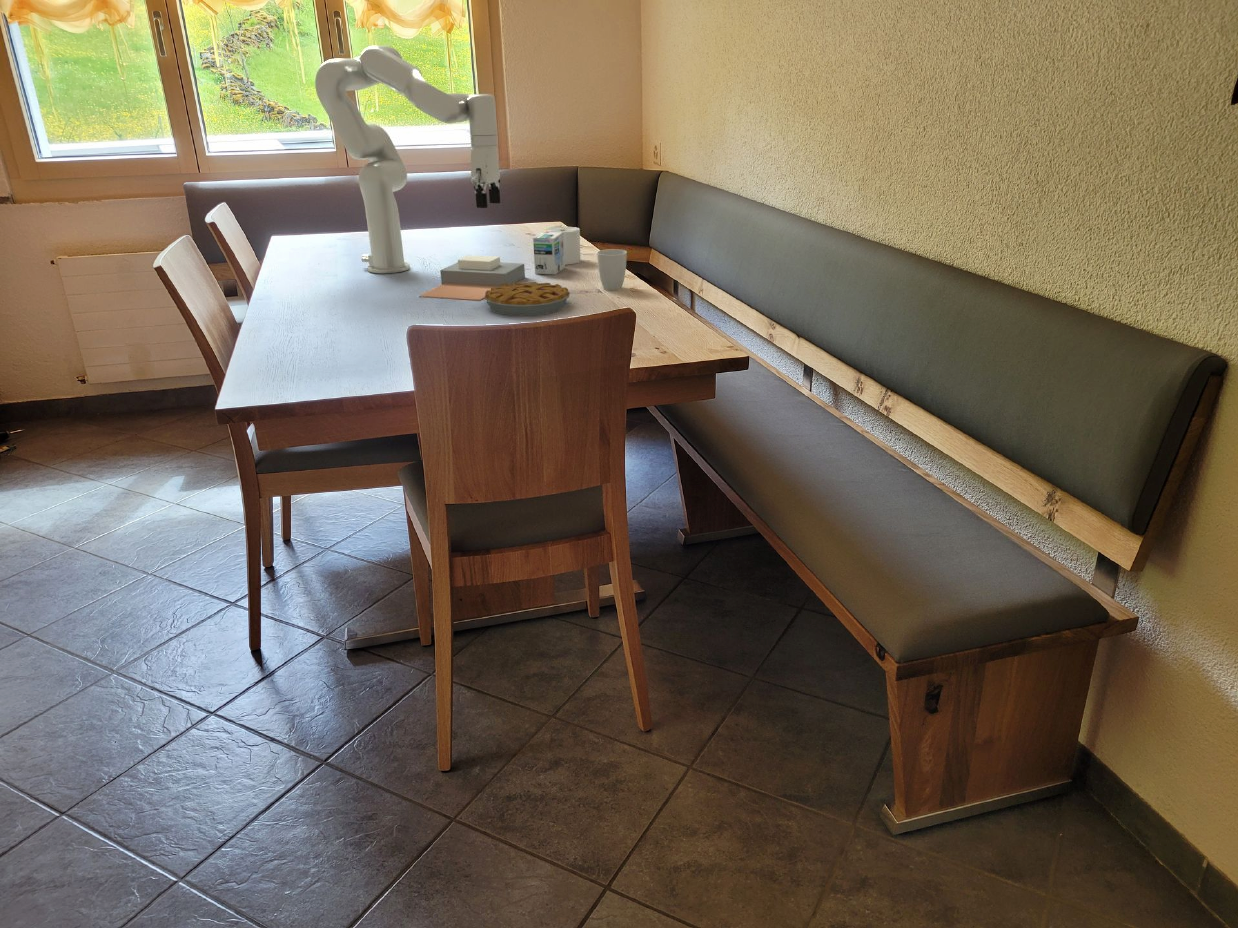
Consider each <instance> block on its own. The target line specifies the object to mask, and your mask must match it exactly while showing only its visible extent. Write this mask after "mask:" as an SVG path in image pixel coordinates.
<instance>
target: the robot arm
mask: <svg viewBox="0 0 1238 928" xmlns="http://www.w3.org/2000/svg"><path fill="white" fill-rule="evenodd" d="M314 80H315V82H314V85H315V86H314V87H315V91H316V95H317V97H318V100H319V102H320V104H321V106H322V107H323V109H324V110H325V113H326V115H327V116H328V118H329V119H330V121H331V123H332V125H333V127H334V129H335V132H336V134H337V135H338V138H339V139H340V141H341V143H342V144H343V147H344V148H345V151H346V152H347V153H348V155H349V156H350V157H351V159H354V160H356V161H358V160H359V161H363V160H368V161H369V162H367V163H366V164H365V165H363V166H362V168H361V169H360V171H359V174H358V185H359V188H360V189H359V190H360V192H361V195H362V200H363V205H364V209H365V211H364V212H365V217H366V223H367V231H368V238H369V239H368V240H369V247H370V254H362V257H361V262H362V263H368V264H369V265H368V266H367V271H368V272H370V273H373V274H395V273H401V272H405V271H407V270H410V268H411V266H410V265H411V264H410V263H408V262H407V261H406V262H405V257H404V249H403V240H402V230H401V221H400V213H399V207H398V203H397V200H396V196H395V195H394V192H398V191H400V190H402V189H403V188H404V187H405V186H406V184H407V180H408V173H407V168H406V167H405V166H406V165H405V164H404V162H403V159H402V158H401V156H400V154H399V153H398V150H397V148H396V147H395V144H394V142H393V140H392V139H391V137H390V136H389V134H388V133H387V131H386V130H385V129H384V128H383V127H381V126H380V125H377V124H375V123H366V121H365V120H364V118H363V115H362V114H361V111H360V110H359V108H358V106H357V104H355V102H354V101H353V100H352V99H351V98H350V96H349V95H348V94H347V92H350V91H360V90H365V89H367V88H370V87H371V88H372V87H373V86H376V85H379V84H382V85H384V86H386V87H387V88H389V89H391V90H393V91H394V92H396V93H397V94H399V95H401V96H403V97H404V98H406V99H407V100H408V101H409V102H410V103H411V104H412V106H414V107H415V108H417V109H418V110H420V111H421V112H422V113H424V114H426V115H428V116H430V117H432V118H433V119H435V120H437V121H439V122H441V123H444V124H455V123H462V122H467V121H468V122H469V131H470V135H469V136H470V147H471V149H470V150H471V151H470V179H471V183H472V184H473V188H474V193H475V202H476V208H477V209H479V208H480V209H487V208H488V197H489V203H490V204H500V203H501V192H500V189H501V185H500V183H501V172H500V161H499V155H498V154H499V153H498V147H499V139H498V125H497V124H498V123H497V111H496V110H497V108H496V99H495V97H494V95H493V94H491V93H490V94H489V93H483V94H482V93H478V94H477V93H475V94H473V93H472V94H468V93H463V92H461V93H460V92H456V93H455V92H454V93H446V92H445V91H442V90H441V89H439V88H437V87H436V86H434V85H432V84H430V83H429V82H428V81H426V80H425V78H424V77H423V73H422V71H421V70H420V68H418V67H417V66H415V65H414V64H411V63H409V62H408V61H406V60H405V59H403V57H402V55H401V53H400V52H399V51H398V50H397V49H396V48H394V47H392V46H388V45H369V46H368V47H366V48H364V49H363V50H362V52H361V54H360V56H357V57H353V58H346V57H345V58H344V57H343V58H337V57H336V58H331V59H328V60H326V61H324V62H323V63H322V64H321V65H320V66H319V68H318V69H317V71H316V75H315V79H314ZM487 185H488V187H489V188H488V195H489V196H487V193H486V190H487Z"/></svg>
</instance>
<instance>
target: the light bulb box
mask: <svg viewBox="0 0 1238 928" xmlns="http://www.w3.org/2000/svg"><path fill="white" fill-rule="evenodd" d="M532 241H533V243H532V244H533V257H534V258H533V261H534V262H533V263H534V274H536V275H557V274H558V273H560V272H561V271H562V270H563V269H565V265H564V244H563V233H558V232H546V231H542V232H540V233H539V234H537V235H535V236H534V237H532Z"/></svg>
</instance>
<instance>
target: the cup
mask: <svg viewBox="0 0 1238 928" xmlns="http://www.w3.org/2000/svg"><path fill="white" fill-rule="evenodd" d="M596 255H597V256H596V257H597V268H598V273H599V274H598V275H599V278H600V281H601V285H602V288H603V290H604V291H619V290H622V288H623V285H624V282H625V277H626V270H627V269H626V268H627V255H628V254H627V250H625V249H619V248H618V249H615V248H613V249H612V248H610V249H602V250H598V251H597V252H596Z"/></svg>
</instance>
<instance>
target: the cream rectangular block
mask: <svg viewBox="0 0 1238 928" xmlns="http://www.w3.org/2000/svg"><path fill="white" fill-rule="evenodd" d="M457 262H458V268H461V269H479V270H492V269H494V268H496V267H498V266H500V262H501V257H500V256H494V255H493V256H491V255H473V254H468V255H466V256H464V257H461V258H459V259H458V260H457Z"/></svg>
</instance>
